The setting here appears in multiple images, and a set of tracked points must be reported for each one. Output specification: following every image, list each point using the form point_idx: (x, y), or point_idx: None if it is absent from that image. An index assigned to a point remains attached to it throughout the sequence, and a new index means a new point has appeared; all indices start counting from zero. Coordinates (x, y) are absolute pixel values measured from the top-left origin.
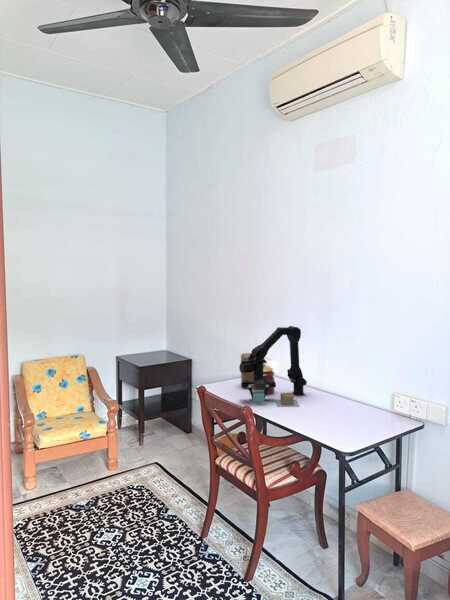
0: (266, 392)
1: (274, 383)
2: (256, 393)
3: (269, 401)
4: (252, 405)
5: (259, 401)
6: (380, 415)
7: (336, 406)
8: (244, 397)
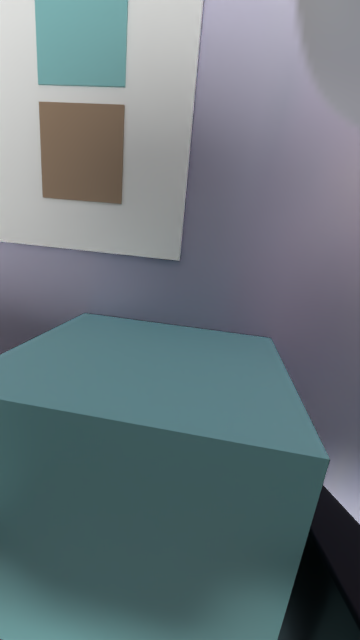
0: None
1: None
2: (195, 445)
3: (6, 344)
4: (335, 162)
5: (158, 328)
6: None
7: None
8: None
